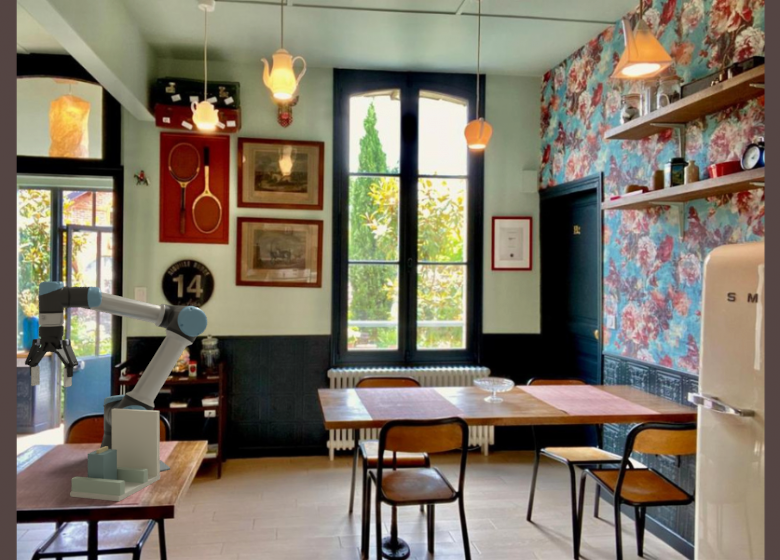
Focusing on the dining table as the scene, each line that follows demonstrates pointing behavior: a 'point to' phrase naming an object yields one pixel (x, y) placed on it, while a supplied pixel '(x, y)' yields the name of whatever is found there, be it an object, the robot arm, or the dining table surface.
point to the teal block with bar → (103, 464)
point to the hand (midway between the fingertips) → (51, 385)
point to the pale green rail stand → (127, 457)
